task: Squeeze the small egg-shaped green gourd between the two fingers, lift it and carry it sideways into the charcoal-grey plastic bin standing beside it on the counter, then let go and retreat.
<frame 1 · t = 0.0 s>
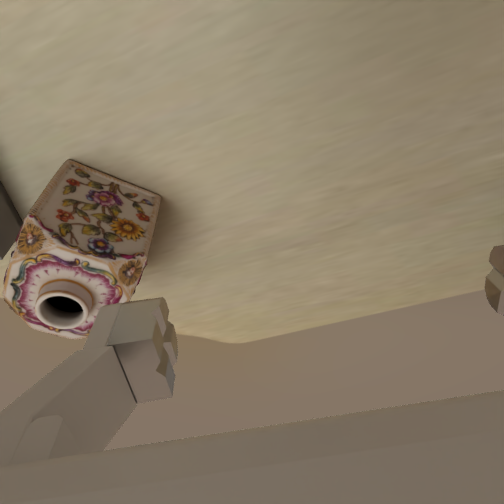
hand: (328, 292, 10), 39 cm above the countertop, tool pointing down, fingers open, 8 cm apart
decorative jar: (103, 213, 52), on the countertop
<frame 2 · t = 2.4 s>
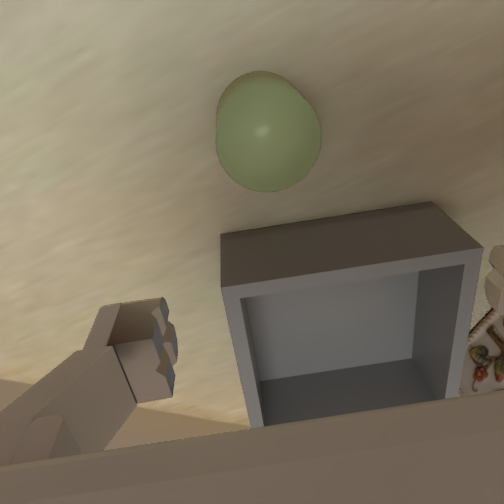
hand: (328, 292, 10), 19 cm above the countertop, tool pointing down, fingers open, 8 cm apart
egg-shaped green gourd: (259, 117, 27), on the countertop
grey bin: (330, 302, 35), on the countertop
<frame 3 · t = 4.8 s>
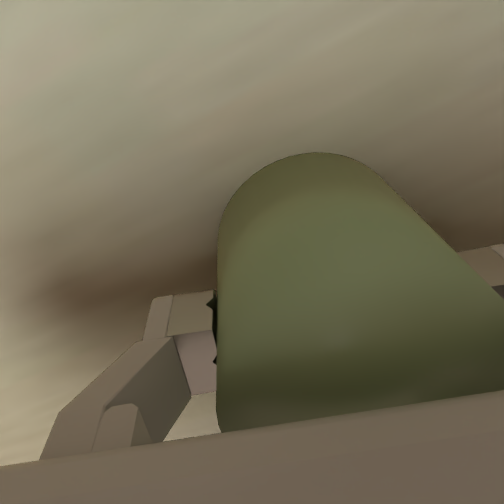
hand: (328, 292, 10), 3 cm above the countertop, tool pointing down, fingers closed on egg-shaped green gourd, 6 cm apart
egg-shaped green gourd: (309, 242, 13), on the countertop, touching gripper
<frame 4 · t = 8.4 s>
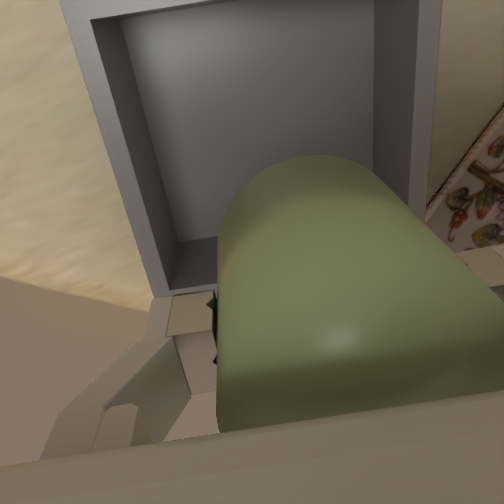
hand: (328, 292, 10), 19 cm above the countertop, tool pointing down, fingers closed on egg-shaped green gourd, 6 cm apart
egg-shaped green gourd: (309, 244, 13), point 16 cm above the countertop, touching gripper
grey bin: (261, 124, 27), on the countertop
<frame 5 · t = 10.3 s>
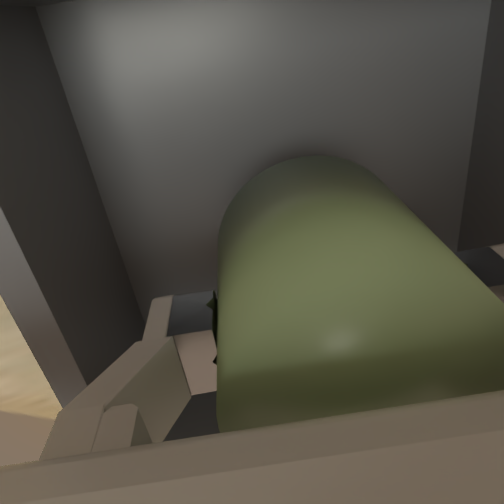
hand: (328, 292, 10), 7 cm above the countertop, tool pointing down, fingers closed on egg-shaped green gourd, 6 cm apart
egg-shaped green gourd: (309, 245, 13), point 5 cm above the countertop, touching gripper
grey bin: (284, 180, 17), on the countertop
when the fingers open (5 cm above the countertop, at t = 11.8 s): egg-shaped green gourd drops 1 cm, resting on grey bin.
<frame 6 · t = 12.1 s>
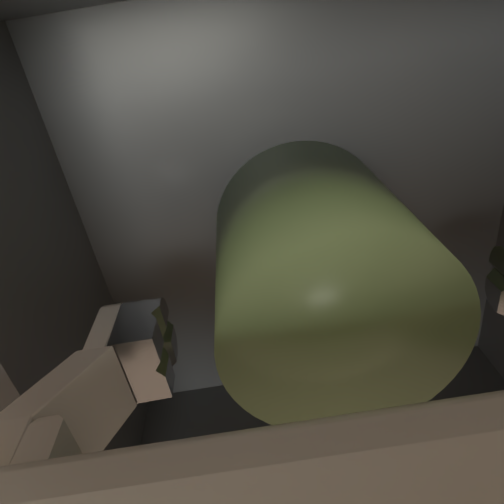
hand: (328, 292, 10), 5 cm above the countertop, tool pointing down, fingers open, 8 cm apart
egg-shaped green gourd: (299, 223, 14), point 1 cm above the countertop, touching grey bin
grey bin: (294, 211, 15), on the countertop
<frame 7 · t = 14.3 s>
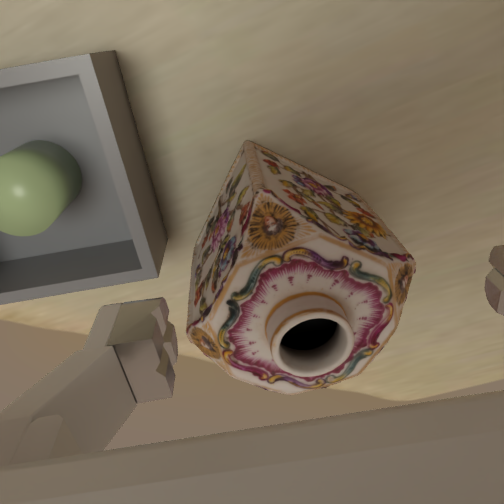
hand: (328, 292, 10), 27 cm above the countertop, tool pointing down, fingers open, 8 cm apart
egg-shaped green gourd: (46, 174, 34), point 1 cm above the countertop, touching grey bin
decorative jar: (273, 219, 39), on the countertop
grey bin: (50, 171, 35), on the countertop
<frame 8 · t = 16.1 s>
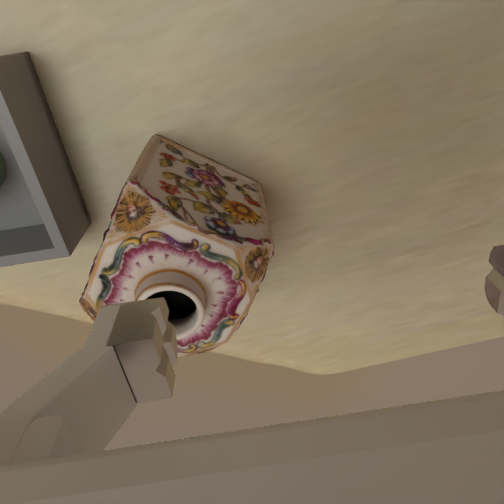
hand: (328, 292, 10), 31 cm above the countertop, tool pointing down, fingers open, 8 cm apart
decorative jar: (187, 206, 43), on the countertop
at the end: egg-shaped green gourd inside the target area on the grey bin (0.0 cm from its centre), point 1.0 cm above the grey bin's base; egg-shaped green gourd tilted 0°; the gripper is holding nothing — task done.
